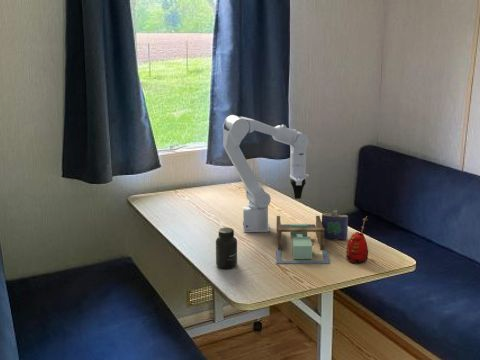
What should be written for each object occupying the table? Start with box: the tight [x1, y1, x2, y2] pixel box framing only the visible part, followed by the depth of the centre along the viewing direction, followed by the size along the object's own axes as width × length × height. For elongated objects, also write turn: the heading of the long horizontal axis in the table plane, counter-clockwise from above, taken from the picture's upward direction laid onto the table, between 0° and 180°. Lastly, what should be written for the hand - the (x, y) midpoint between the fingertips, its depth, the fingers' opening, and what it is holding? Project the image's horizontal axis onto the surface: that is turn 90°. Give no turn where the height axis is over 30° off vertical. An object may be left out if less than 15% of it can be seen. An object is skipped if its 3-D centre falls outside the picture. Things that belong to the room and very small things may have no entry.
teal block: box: [289, 223, 313, 260], centre depth 183 cm, size 6×20×5 cm, turn 178°
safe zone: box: [275, 249, 331, 265], centre depth 176 cm, size 17×10×1 cm, turn 88°
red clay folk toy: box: [345, 215, 369, 264], centre depth 171 cm, size 8×7×15 cm
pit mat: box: [281, 223, 316, 228], centre depth 201 cm, size 14×6×1 cm, turn 88°
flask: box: [321, 209, 349, 241], centre depth 189 cm, size 9×3×11 cm, turn 74°
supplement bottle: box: [215, 227, 238, 270], centre depth 169 cm, size 7×7×12 cm
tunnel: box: [276, 215, 325, 251], centre depth 188 cm, size 16×16×7 cm
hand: (297, 198), depth 204 cm, fingers closed
